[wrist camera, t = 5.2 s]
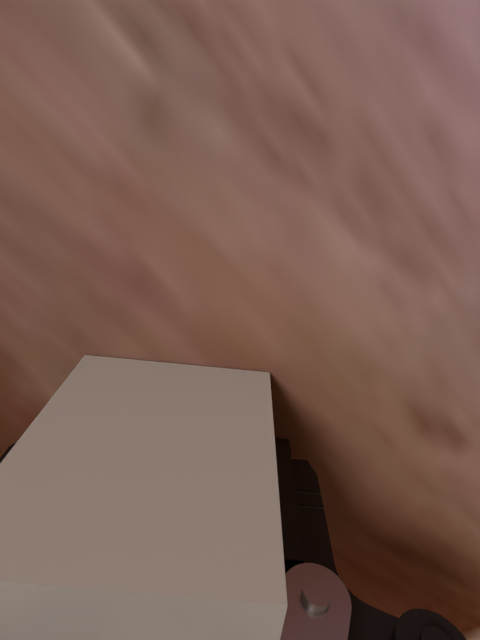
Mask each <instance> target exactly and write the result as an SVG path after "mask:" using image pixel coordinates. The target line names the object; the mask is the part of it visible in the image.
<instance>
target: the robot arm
mask: <svg viewBox="0 0 480 640" xmlns="http://www.w3.org/2000/svg"><path fill="white" fill-rule="evenodd" d="M16 443H17V442H16ZM16 443H14V444H13V445H11V446H10V447H9V448H8V449H7V450H6V452H5V453H4V454H3V455H2V457H1V458H0V463H1V462H2V460H3V459H4V458H5V457H6V455H7V454H8V453H9V452H10V450H11V449H12V448H13V446H14V445H15V444H16ZM275 448H276V461H277V474H278V487H279V500H280V513H281V526H282V539H283V552H284V565H285V579H286V592H287V605H288V607H287V611H286V615H285V620H284V624H283V629H282V633H281V637H280V640H466V639H465V637H464V636H463V635H462V634H461V632H460V631H459V630H458V629H457V628H456V627H455V626H454V625H453V624H452V623H450V622H449V621H448V620H447V619H445V618H444V617H442V616H440V615H439V614H437V613H434V612H432V611H429V610H426V609H412V610H408V611H406V612H405V613H403V614H402V615H401V616H400V618H397V617H394V616H392V615H390V614H388V613H385V612H383V611H381V610H378V609H376V608H374V607H371V606H369V605H367V604H365V603H364V602H362V601H361V600H359V599H358V598H356V597H355V596H354V595H353V594H352V593H351V592H350V591H349V590H348V589H347V588H346V586H345V585H344V583H343V582H342V581H341V579H340V578H339V576H338V573H337V571H336V568H335V564H334V559H333V554H332V549H331V544H330V539H329V533H328V528H327V523H326V518H325V513H324V510H323V503H322V498H321V496H320V487H319V482H318V477H317V474H316V473H315V472H314V470H313V469H312V467H311V466H310V464H309V463H308V461H307V460H298V459H291V451H290V443H289V440H288V439H281V438H275Z"/></svg>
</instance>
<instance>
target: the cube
mask: <svg viewBox="0 0 480 640" xmlns="http://www.w3.org/2000/svg"><path fill="white" fill-rule="evenodd" d="M287 607H288V605H287V592H286V579H285V565H284V552H283V539H282V526H281V513H280V500H279V487H278V474H277V461H276V448H275V435H274V422H273V409H272V396H271V383H270V372H259V371H249V370H238V369H228V368H217V367H206V366H196V365H185V364H175V363H164V362H154V361H143V360H133V359H122V358H111V357H101V356H90V355H85V356H84V357H83V358H82V360H81V361H80V362H79V363H78V365H77V366H76V367H75V368H74V370H73V371H72V372H71V374H70V375H69V376H68V377H67V379H66V380H65V381H64V383H63V384H62V385H61V386H60V388H59V389H58V390H57V391H56V393H55V394H54V395H53V397H52V398H51V399H50V400H49V402H48V403H47V404H46V406H45V407H44V408H43V409H42V411H41V412H40V413H39V414H38V416H37V417H36V418H35V420H34V421H33V422H32V423H31V425H30V426H29V427H28V429H27V430H26V431H25V432H24V434H23V435H22V436H21V437H20V439H19V440H18V441H17V443H16V444H15V445H14V446H13V448H12V449H11V450H10V452H9V453H8V454H7V455H6V457H5V458H4V459H3V460H2V462H1V463H0V640H280V637H281V633H282V629H283V624H284V620H285V615H286V611H287Z"/></svg>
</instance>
